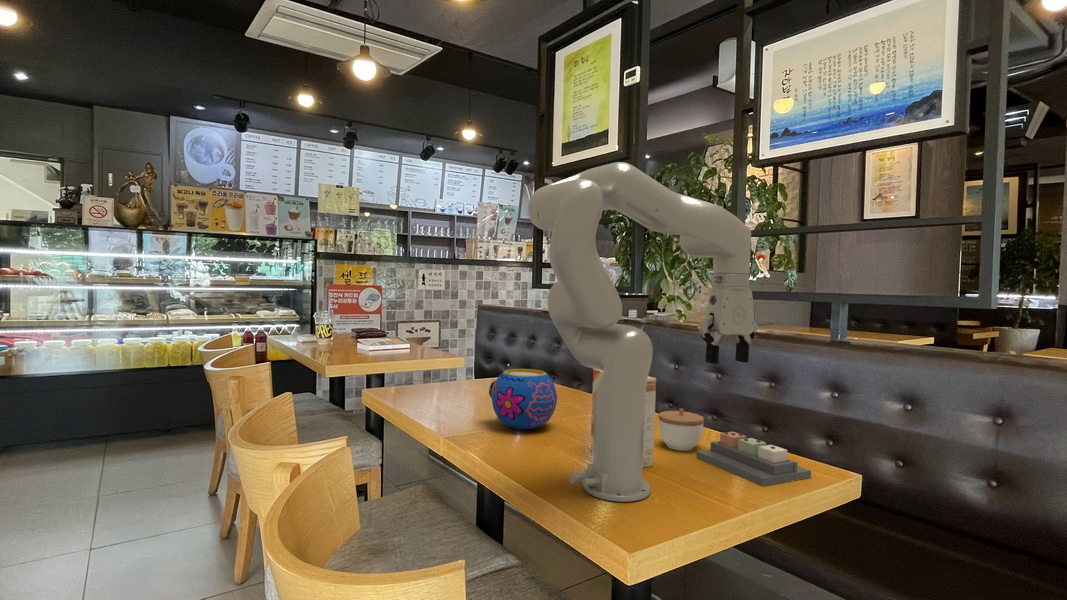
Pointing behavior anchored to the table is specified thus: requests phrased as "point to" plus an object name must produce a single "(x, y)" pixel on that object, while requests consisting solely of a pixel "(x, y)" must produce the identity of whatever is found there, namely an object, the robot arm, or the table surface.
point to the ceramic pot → (523, 398)
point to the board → (752, 465)
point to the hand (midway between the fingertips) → (727, 362)
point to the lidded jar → (680, 429)
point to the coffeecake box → (648, 416)
